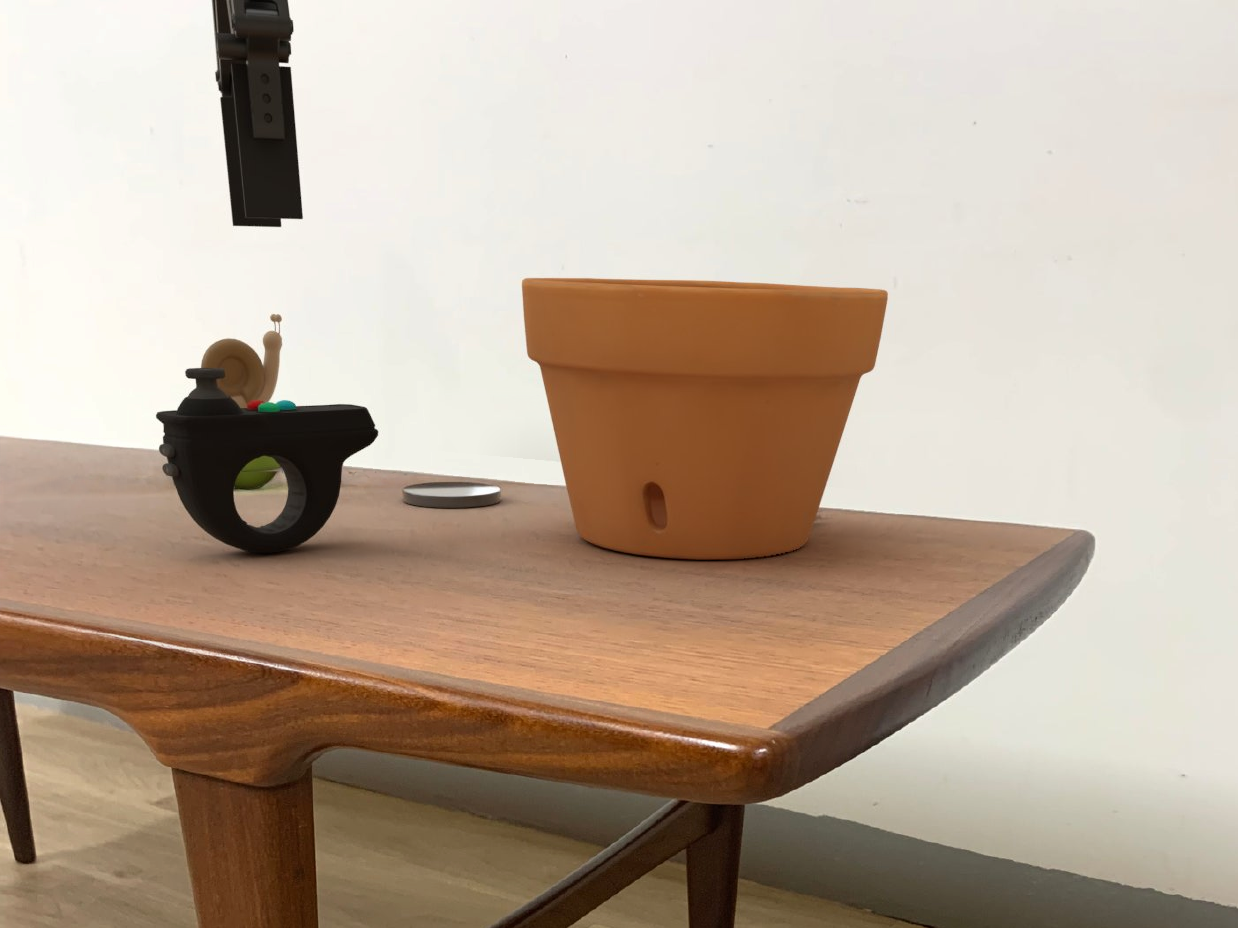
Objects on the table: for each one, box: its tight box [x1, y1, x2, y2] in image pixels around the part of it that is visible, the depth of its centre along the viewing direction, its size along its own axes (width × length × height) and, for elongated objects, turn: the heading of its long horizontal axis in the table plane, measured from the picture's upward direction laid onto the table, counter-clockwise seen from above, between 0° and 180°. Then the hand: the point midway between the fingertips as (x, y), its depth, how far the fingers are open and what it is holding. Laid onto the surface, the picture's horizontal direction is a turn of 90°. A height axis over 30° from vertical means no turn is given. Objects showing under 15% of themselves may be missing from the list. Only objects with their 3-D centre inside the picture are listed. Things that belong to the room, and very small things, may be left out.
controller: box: [155, 367, 379, 554], centre depth 74 cm, size 4×12×10 cm, turn 128°
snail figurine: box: [200, 313, 283, 490], centre depth 95 cm, size 5×6×12 cm
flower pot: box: [521, 277, 889, 560], centre depth 79 cm, size 21×21×15 cm
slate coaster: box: [401, 481, 502, 509], centre depth 94 cm, size 7×7×1 cm
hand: (265, 223), depth 71 cm, fingers open, 13 cm apart
